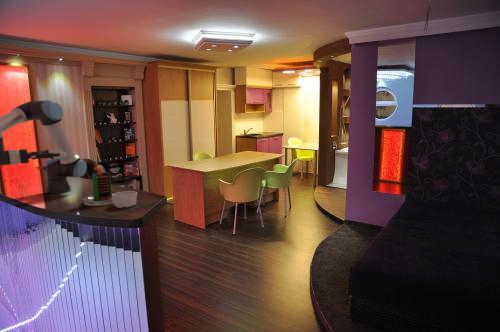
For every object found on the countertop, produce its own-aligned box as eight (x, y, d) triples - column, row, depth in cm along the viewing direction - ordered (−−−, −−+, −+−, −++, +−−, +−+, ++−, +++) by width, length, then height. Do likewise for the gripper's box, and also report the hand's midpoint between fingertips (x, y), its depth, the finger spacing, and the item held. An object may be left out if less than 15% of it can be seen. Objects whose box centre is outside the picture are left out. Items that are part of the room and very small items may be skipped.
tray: (80, 201, 205) (80, 196, 205) (114, 196, 217) (114, 192, 217) (88, 208, 189) (87, 203, 189) (124, 202, 201) (124, 197, 201)
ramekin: (111, 209, 186) (110, 197, 185) (114, 203, 198) (113, 192, 197) (137, 207, 189) (136, 195, 188) (138, 201, 202) (137, 190, 201)
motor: (103, 202, 197) (100, 168, 194) (89, 201, 199) (87, 167, 196) (113, 197, 207) (111, 165, 204) (100, 197, 209) (98, 165, 206)
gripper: (18, 161, 190) (60, 157, 203) (22, 166, 171) (69, 161, 184) (16, 147, 189) (59, 144, 202) (20, 151, 170) (67, 147, 182)
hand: (64, 152), depth 193 cm, fingers open, 13 cm apart
